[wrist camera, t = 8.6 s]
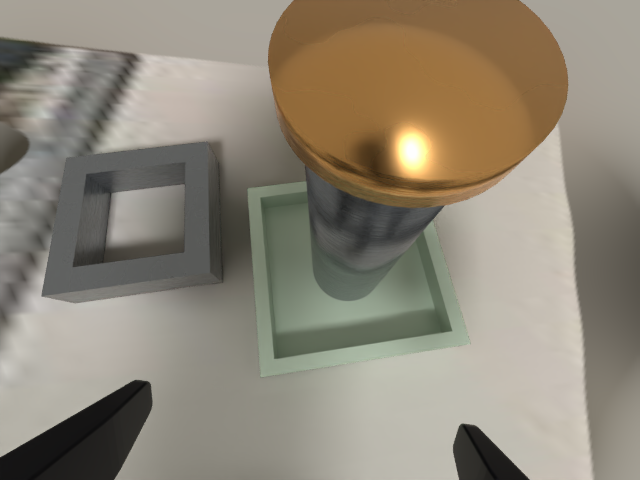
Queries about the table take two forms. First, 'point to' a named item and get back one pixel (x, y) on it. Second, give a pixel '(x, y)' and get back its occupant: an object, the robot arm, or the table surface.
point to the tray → (335, 315)
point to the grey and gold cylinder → (405, 117)
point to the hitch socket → (92, 216)
